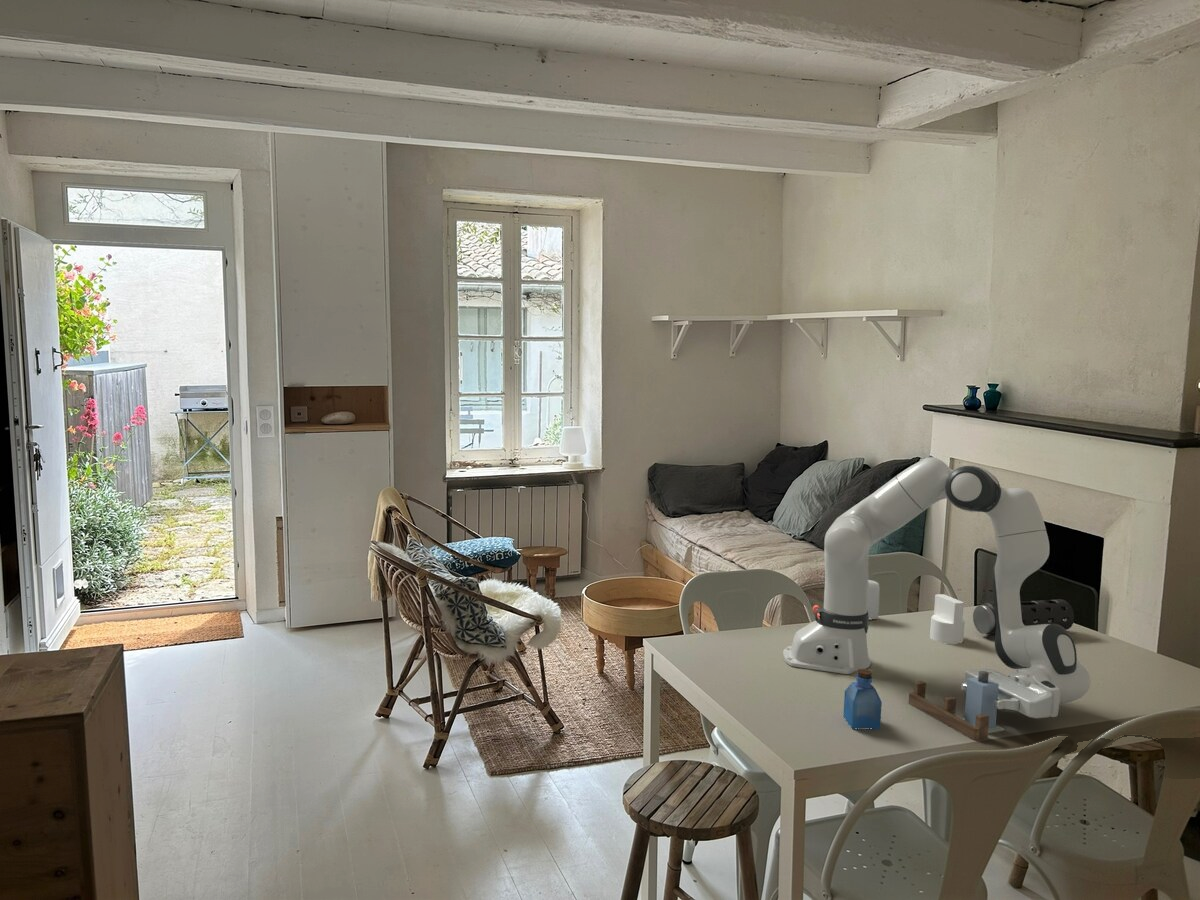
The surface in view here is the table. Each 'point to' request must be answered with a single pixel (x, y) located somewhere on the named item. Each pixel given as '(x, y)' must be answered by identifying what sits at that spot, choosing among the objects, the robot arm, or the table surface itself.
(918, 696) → the comb rack
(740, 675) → the table surface
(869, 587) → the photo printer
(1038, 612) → the muzzle brake
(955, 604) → the base with upright slab
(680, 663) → the table surface
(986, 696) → the blue block with peg
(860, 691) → the perfume bottle
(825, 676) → the table surface
